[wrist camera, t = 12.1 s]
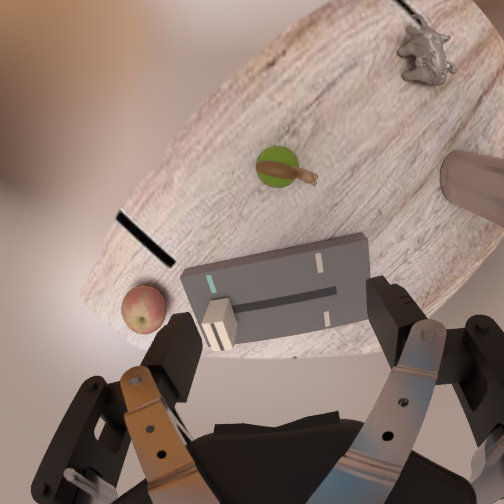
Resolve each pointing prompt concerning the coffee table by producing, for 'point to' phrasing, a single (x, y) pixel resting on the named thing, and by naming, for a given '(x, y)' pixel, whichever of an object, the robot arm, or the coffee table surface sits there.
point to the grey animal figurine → (426, 54)
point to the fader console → (286, 288)
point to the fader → (220, 324)
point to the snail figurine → (281, 168)
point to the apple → (143, 309)
